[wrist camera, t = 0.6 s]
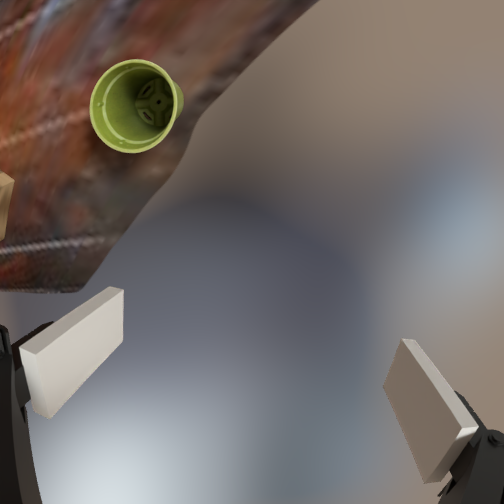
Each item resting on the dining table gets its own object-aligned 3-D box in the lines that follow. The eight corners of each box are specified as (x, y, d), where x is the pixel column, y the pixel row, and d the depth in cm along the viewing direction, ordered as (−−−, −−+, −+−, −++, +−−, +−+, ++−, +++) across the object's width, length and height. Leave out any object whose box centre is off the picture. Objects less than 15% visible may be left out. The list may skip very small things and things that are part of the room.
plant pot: (163, 155, 37) (136, 172, 30) (111, 109, 35) (74, 116, 27) (214, 97, 34) (197, 98, 26) (157, 50, 31) (127, 41, 24)
